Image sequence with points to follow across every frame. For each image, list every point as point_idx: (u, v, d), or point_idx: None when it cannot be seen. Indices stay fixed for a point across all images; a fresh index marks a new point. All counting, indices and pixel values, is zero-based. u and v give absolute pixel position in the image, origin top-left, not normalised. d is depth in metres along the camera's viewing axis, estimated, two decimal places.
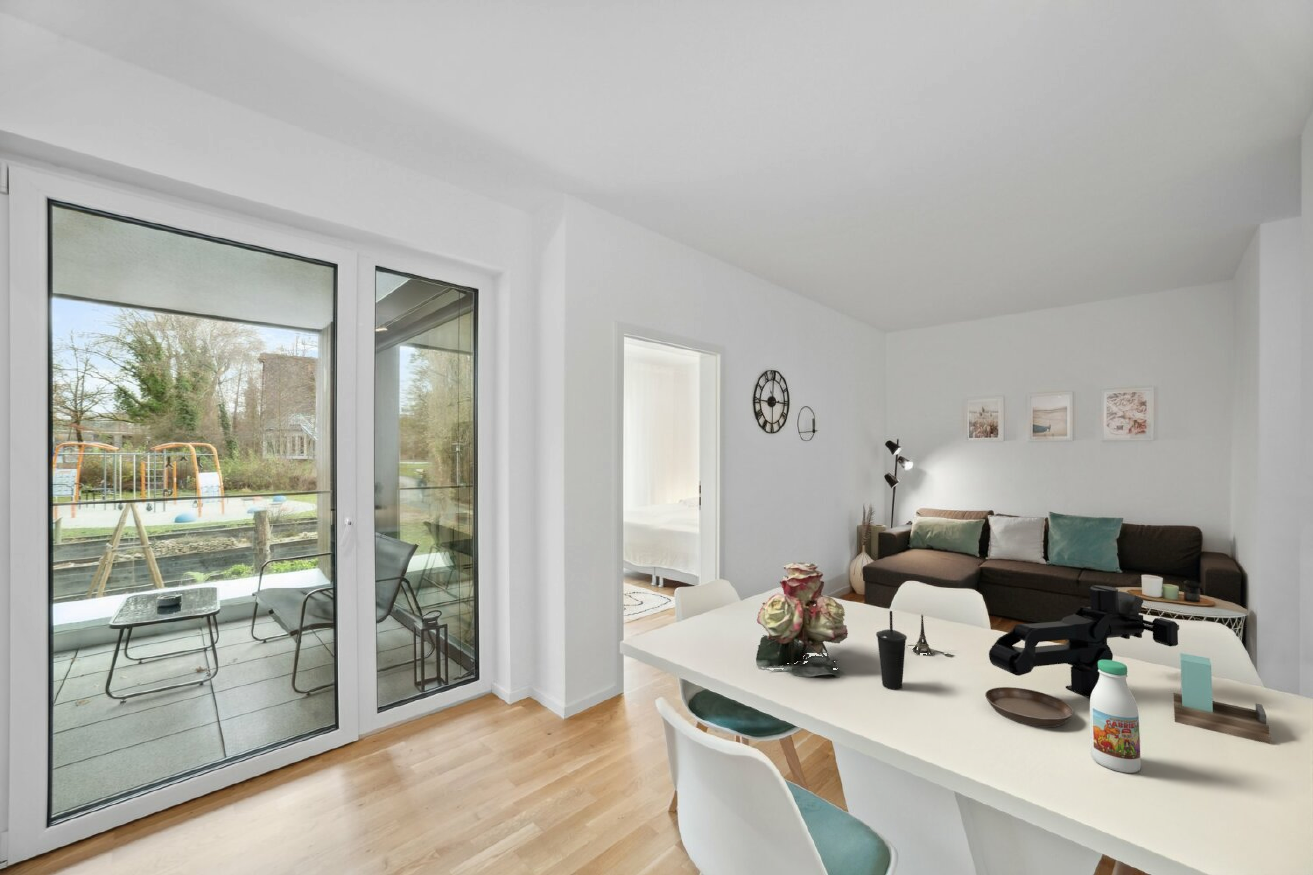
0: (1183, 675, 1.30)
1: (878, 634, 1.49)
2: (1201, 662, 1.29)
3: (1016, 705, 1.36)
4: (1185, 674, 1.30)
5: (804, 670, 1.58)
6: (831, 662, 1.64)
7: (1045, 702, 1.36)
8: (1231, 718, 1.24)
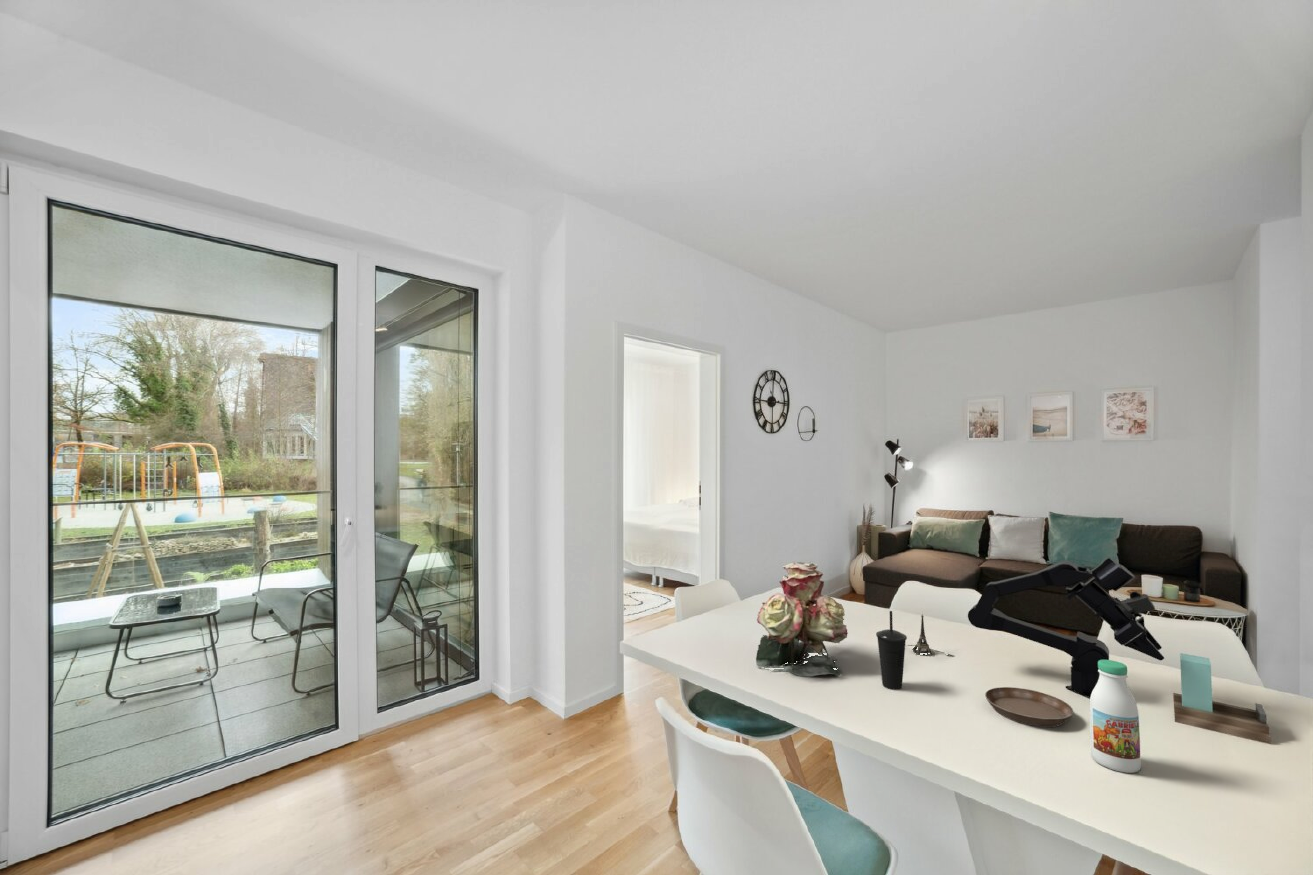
0: (1183, 675, 1.30)
1: (878, 634, 1.49)
2: (1201, 662, 1.29)
3: (1016, 705, 1.36)
4: (1185, 674, 1.30)
5: (804, 670, 1.59)
6: (831, 662, 1.64)
7: (1045, 702, 1.36)
8: (1231, 718, 1.24)
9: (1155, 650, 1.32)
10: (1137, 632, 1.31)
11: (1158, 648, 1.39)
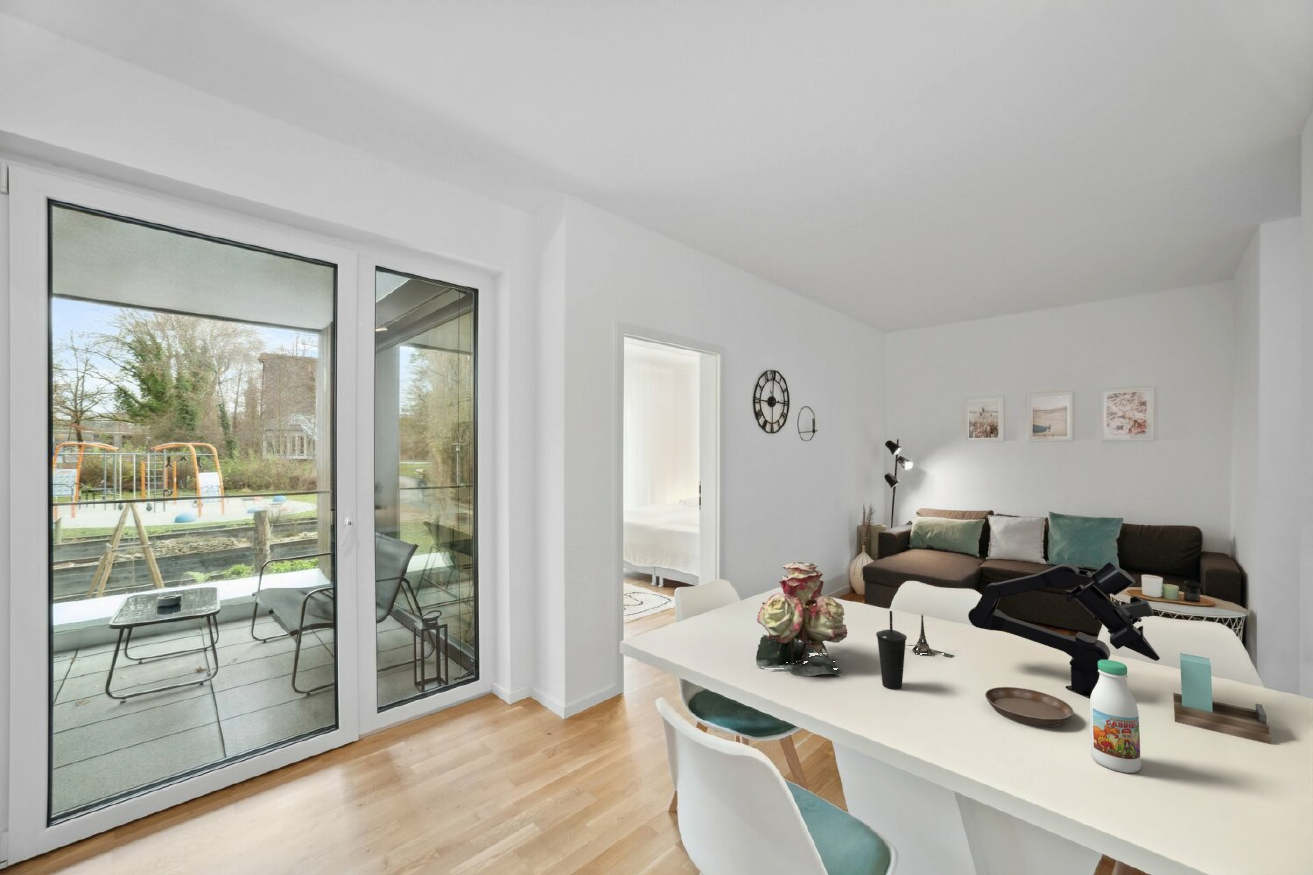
0: (1183, 675, 1.30)
1: (878, 634, 1.49)
2: (1201, 662, 1.29)
3: (1016, 705, 1.36)
4: (1185, 674, 1.30)
5: (804, 669, 1.59)
6: (831, 661, 1.64)
7: (1045, 702, 1.36)
8: (1231, 718, 1.24)
9: (1151, 651, 1.35)
10: (1133, 637, 1.31)
11: (1156, 658, 1.35)
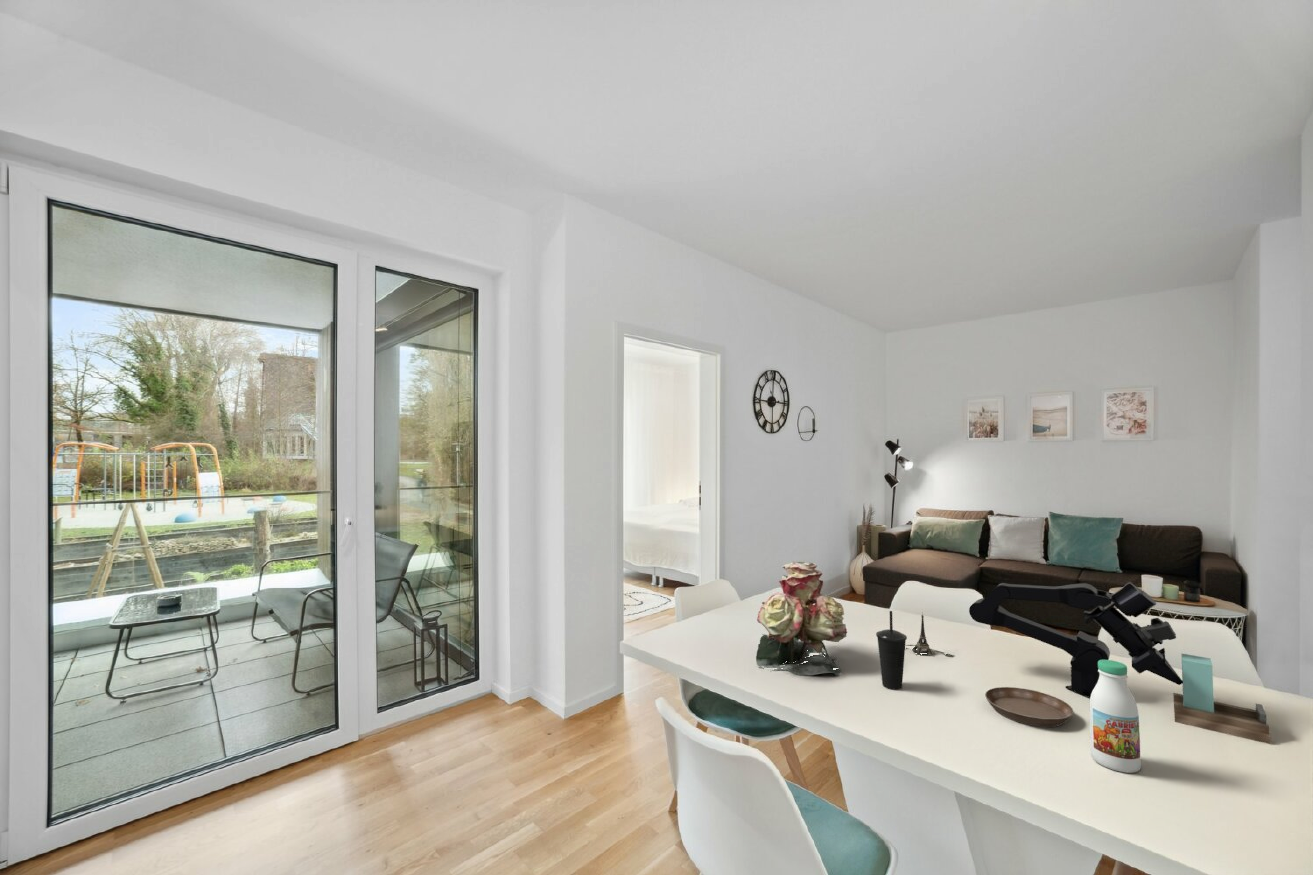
0: (1184, 675, 1.30)
1: (878, 634, 1.49)
2: (1202, 662, 1.29)
3: (1016, 705, 1.36)
4: (1186, 674, 1.30)
5: (804, 669, 1.59)
6: (830, 661, 1.65)
7: (1045, 702, 1.36)
8: (1231, 718, 1.24)
9: (1174, 674, 1.32)
10: (1156, 661, 1.29)
11: (1179, 682, 1.33)
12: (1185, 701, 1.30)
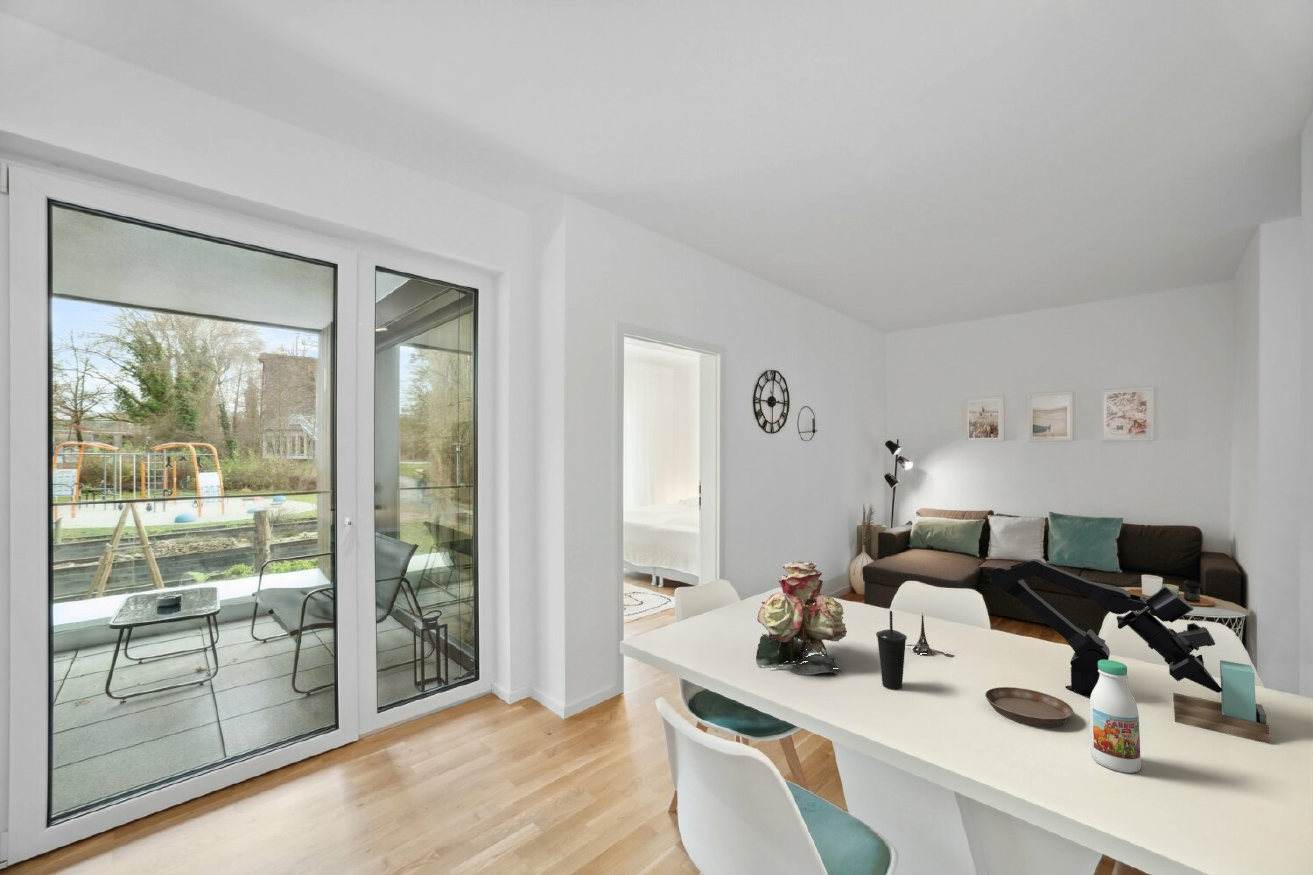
0: (1224, 683, 1.25)
1: (878, 634, 1.49)
2: (1243, 670, 1.24)
3: (1016, 705, 1.36)
4: (1226, 682, 1.25)
5: (804, 668, 1.60)
6: (830, 660, 1.66)
7: (1045, 702, 1.36)
8: (1231, 718, 1.24)
9: (1213, 682, 1.28)
10: (1195, 668, 1.24)
11: (1218, 690, 1.28)
12: (1225, 710, 1.25)
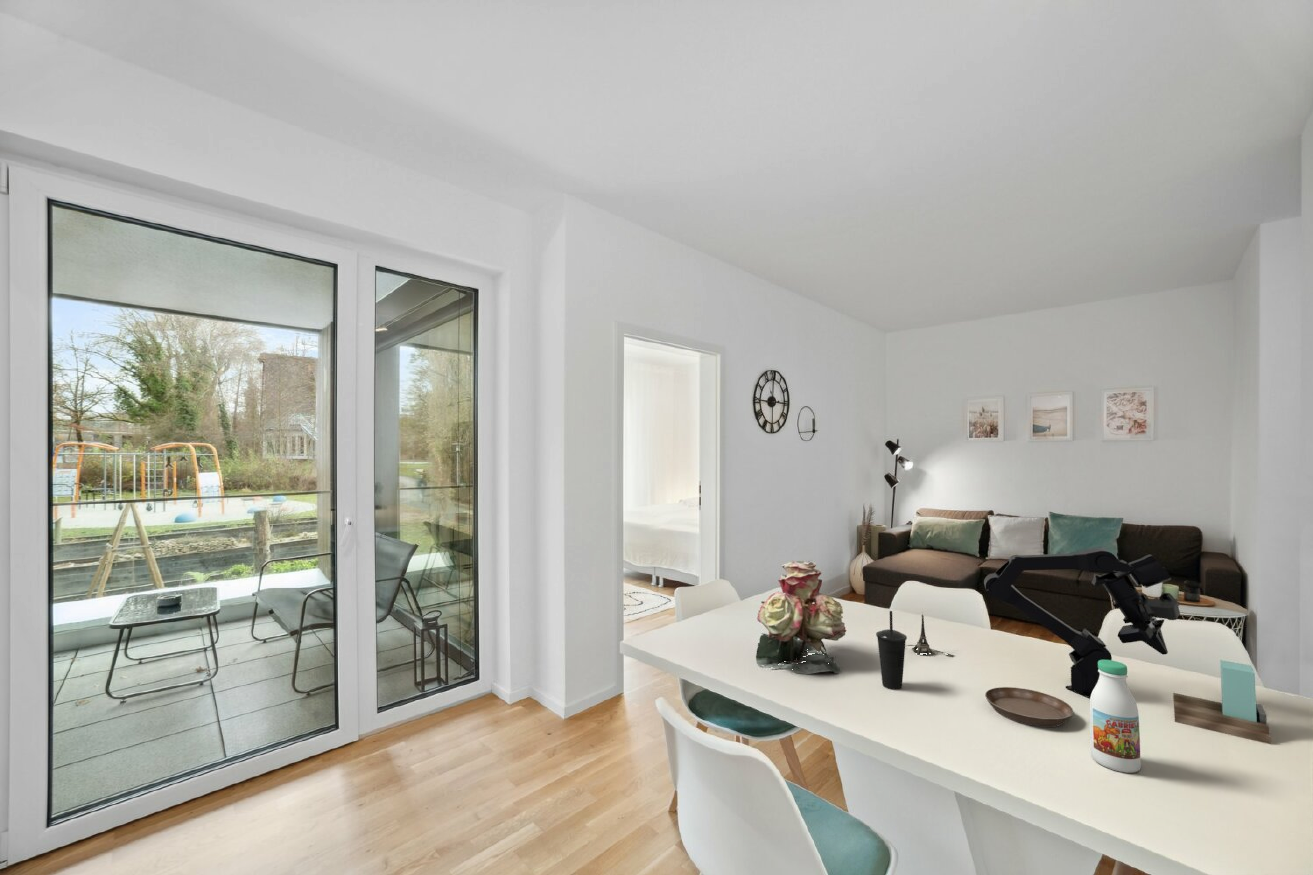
0: (1225, 683, 1.25)
1: (878, 634, 1.49)
2: (1244, 670, 1.24)
3: (1016, 705, 1.36)
4: (1227, 682, 1.25)
5: (803, 667, 1.60)
6: (829, 659, 1.66)
7: (1045, 702, 1.36)
8: (1231, 718, 1.24)
9: (1160, 646, 1.37)
10: (1142, 638, 1.33)
11: None
12: (1226, 710, 1.25)
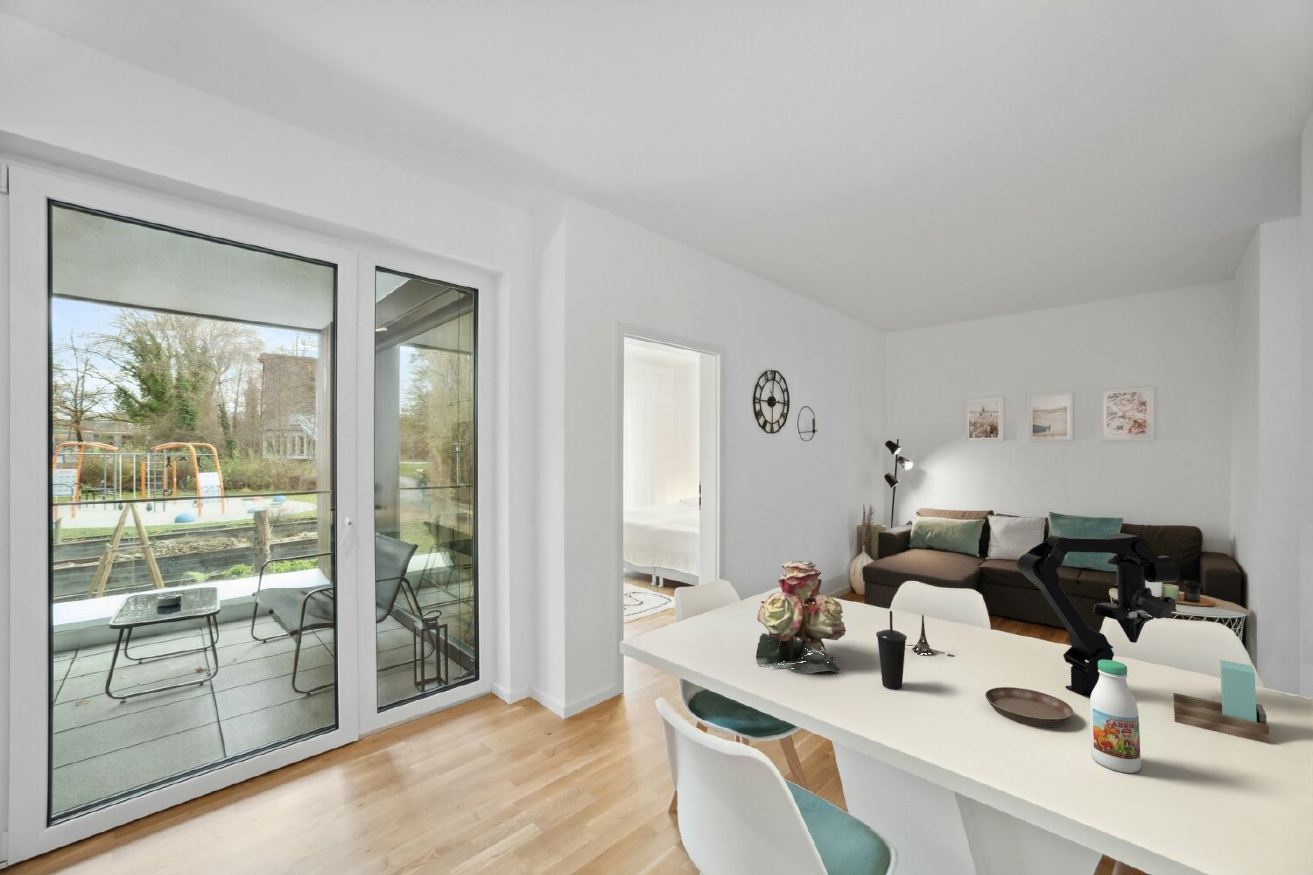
0: (1225, 683, 1.25)
1: (878, 634, 1.49)
2: (1244, 670, 1.24)
3: (1016, 705, 1.36)
4: (1227, 682, 1.25)
5: (803, 667, 1.61)
6: (829, 659, 1.67)
7: (1045, 702, 1.36)
8: (1231, 718, 1.24)
9: (1132, 634, 1.44)
10: (1110, 616, 1.41)
11: None
12: (1226, 710, 1.25)
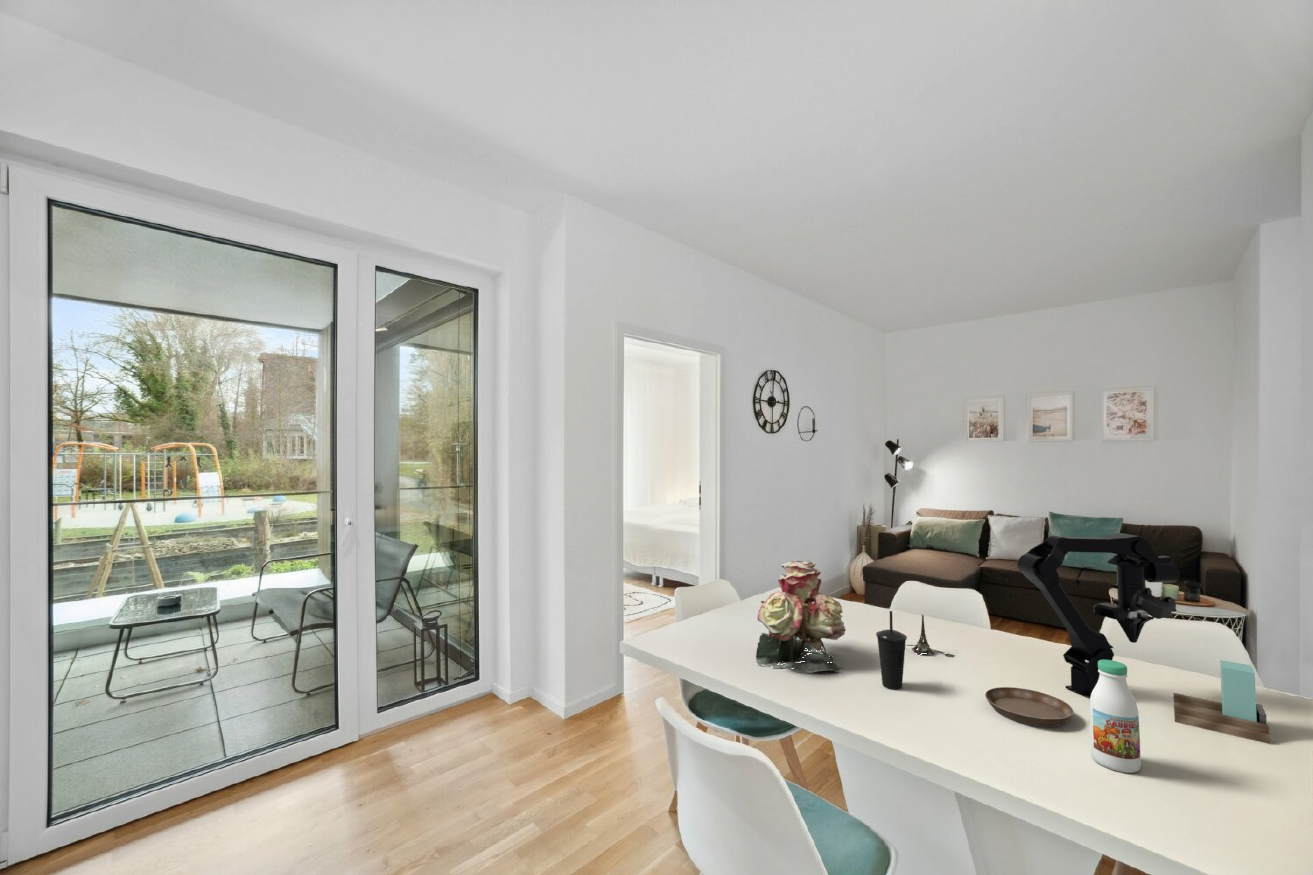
0: (1225, 683, 1.25)
1: (878, 634, 1.49)
2: (1244, 670, 1.24)
3: (1016, 705, 1.36)
4: (1227, 682, 1.25)
5: (803, 666, 1.61)
6: (829, 658, 1.67)
7: (1045, 702, 1.36)
8: (1231, 718, 1.24)
9: (1132, 634, 1.44)
10: (1110, 616, 1.41)
11: None
12: (1226, 710, 1.25)
